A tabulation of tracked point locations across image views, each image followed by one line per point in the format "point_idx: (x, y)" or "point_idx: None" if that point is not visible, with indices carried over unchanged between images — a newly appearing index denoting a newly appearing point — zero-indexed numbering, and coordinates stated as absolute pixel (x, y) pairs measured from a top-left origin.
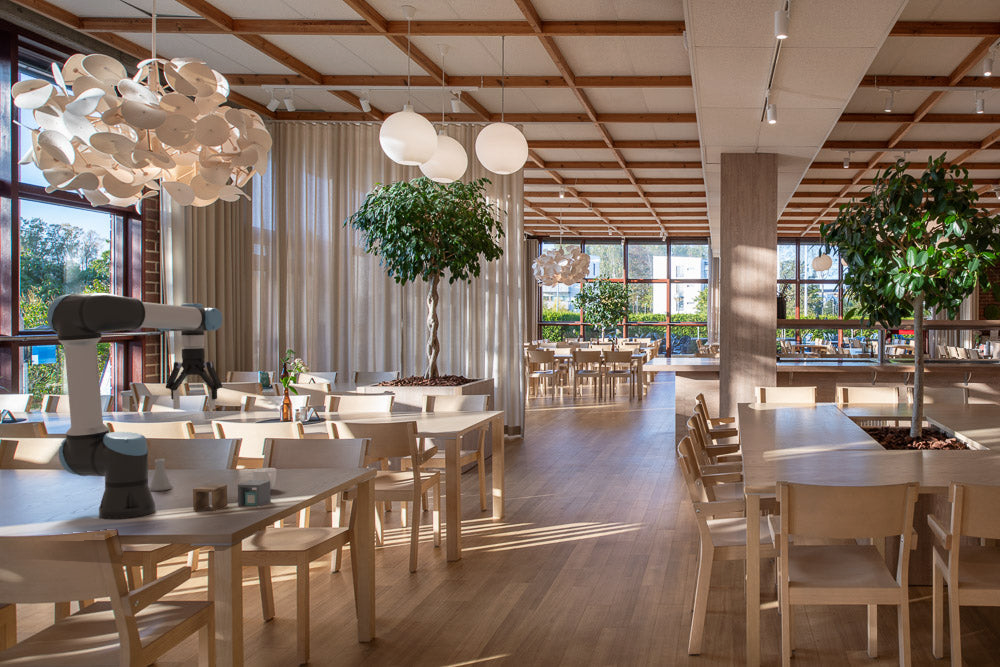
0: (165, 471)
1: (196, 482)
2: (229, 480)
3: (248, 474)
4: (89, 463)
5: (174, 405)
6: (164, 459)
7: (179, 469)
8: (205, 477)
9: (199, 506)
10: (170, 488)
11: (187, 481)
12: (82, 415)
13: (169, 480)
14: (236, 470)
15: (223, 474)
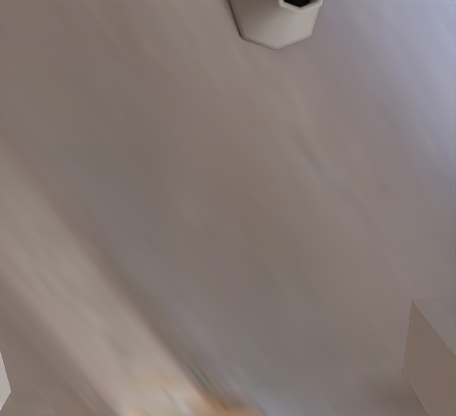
0: (267, 6)
1: (215, 166)
2: (109, 222)
3: (115, 332)
4: None
5: (444, 326)
6: (282, 3)
7: None
8: (241, 261)
9: None
10: (231, 4)
11: (264, 180)
12: None
13: (252, 25)
14: (207, 388)
15: (208, 320)
